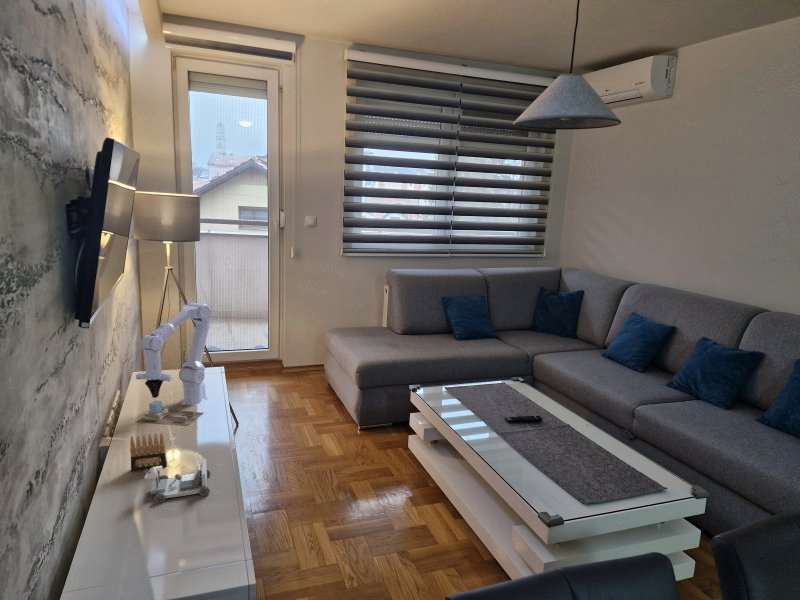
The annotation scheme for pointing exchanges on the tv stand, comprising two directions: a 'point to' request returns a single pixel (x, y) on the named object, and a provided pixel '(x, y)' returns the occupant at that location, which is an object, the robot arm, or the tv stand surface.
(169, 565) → the tv stand surface
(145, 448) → the ammunition clip
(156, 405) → the plug
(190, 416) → the brown tray
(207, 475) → the toy car
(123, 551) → the tv stand surface
